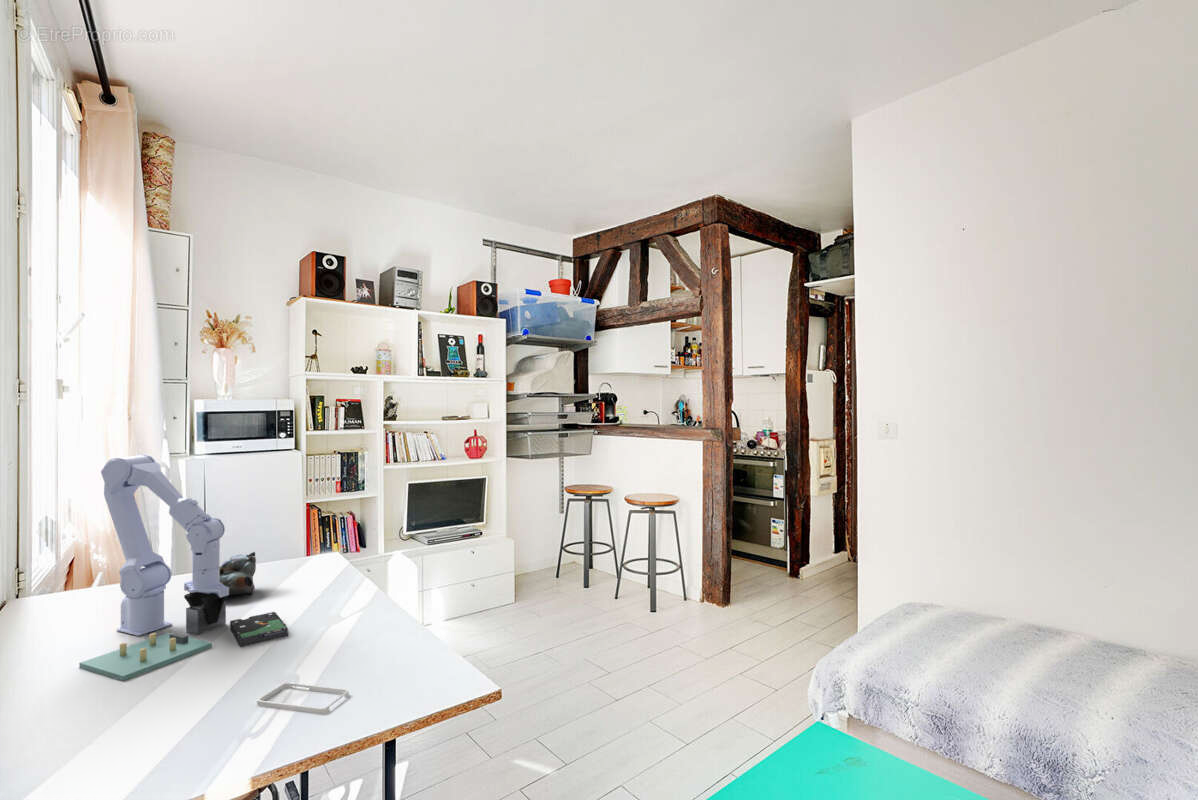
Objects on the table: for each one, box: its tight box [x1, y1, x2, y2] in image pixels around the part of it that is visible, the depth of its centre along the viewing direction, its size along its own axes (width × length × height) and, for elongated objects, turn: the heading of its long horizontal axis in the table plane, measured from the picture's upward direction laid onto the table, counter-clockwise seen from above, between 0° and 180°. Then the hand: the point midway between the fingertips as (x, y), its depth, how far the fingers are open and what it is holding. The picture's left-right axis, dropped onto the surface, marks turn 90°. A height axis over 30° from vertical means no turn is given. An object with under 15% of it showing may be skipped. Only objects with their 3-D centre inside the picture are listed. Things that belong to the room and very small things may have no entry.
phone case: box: [256, 682, 350, 714], centre depth 111 cm, size 7×1×15 cm
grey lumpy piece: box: [209, 551, 257, 596], centre depth 173 cm, size 15×12×14 cm
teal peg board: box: [78, 632, 213, 682], centre depth 130 cm, size 16×18×4 cm
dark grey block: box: [185, 601, 227, 636], centre depth 147 cm, size 4×7×6 cm, turn 157°
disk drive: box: [229, 611, 289, 648], centre depth 144 cm, size 10×3×15 cm
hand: (206, 621), depth 147 cm, fingers closed on dark grey block, 4 cm apart
